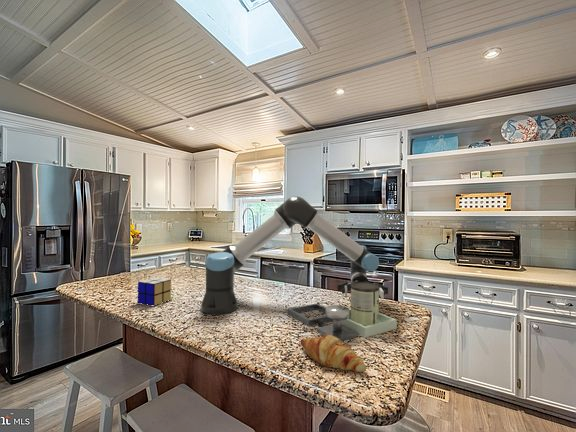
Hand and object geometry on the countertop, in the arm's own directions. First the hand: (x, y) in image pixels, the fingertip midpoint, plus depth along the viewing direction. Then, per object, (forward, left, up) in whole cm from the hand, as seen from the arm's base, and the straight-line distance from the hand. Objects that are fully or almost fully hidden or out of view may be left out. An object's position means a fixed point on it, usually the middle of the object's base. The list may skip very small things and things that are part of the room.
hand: (364, 294), depth 110 cm
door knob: (-16, -1, -11) cm, 20 cm away
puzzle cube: (-66, +64, -11) cm, 93 cm away
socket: (-13, +14, -11) cm, 22 cm away
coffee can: (-2, -3, -10) cm, 11 cm away
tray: (-2, -3, -11) cm, 11 cm away
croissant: (-30, -17, -11) cm, 36 cm away
